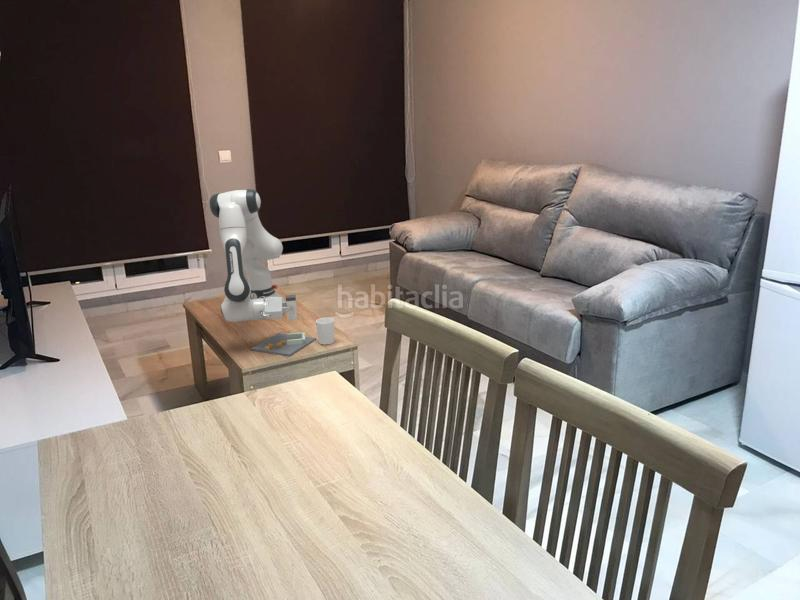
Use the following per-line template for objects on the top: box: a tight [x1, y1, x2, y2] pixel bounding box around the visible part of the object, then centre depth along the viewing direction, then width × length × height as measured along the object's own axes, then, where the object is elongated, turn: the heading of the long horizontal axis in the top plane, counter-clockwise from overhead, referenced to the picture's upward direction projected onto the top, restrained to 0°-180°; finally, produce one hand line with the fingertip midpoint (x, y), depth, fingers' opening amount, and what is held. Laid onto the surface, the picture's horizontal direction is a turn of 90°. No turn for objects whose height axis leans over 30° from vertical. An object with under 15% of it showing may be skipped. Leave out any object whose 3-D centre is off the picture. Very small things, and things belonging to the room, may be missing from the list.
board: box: [250, 332, 317, 357], centre depth 282 cm, size 20×20×2 cm
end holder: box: [286, 331, 306, 345], centre depth 284 cm, size 8×9×2 cm
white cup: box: [315, 317, 335, 345], centre depth 282 cm, size 8×8×10 cm
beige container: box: [285, 294, 298, 321], centre depth 280 cm, size 4×4×10 cm
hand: (293, 306), depth 280 cm, fingers closed on beige container, 4 cm apart
